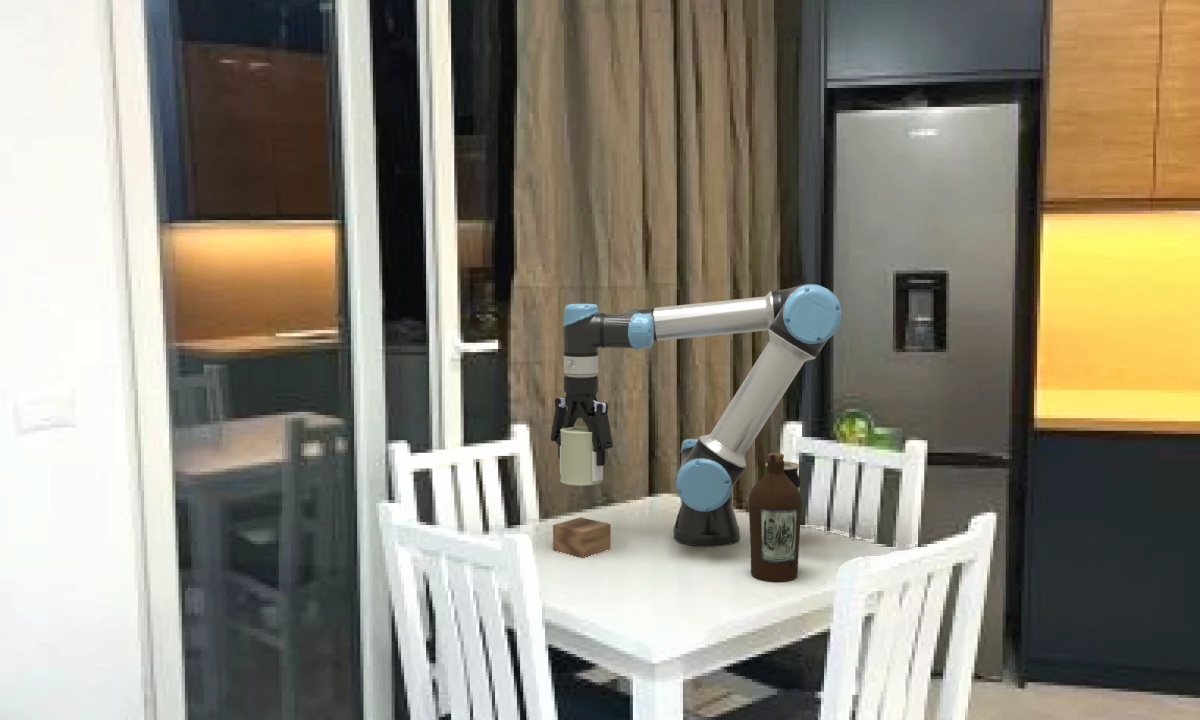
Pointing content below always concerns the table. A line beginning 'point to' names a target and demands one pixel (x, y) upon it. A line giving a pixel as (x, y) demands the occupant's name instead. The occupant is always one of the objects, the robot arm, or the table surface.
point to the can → (577, 456)
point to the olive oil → (775, 524)
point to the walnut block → (581, 537)
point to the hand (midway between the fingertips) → (581, 476)
